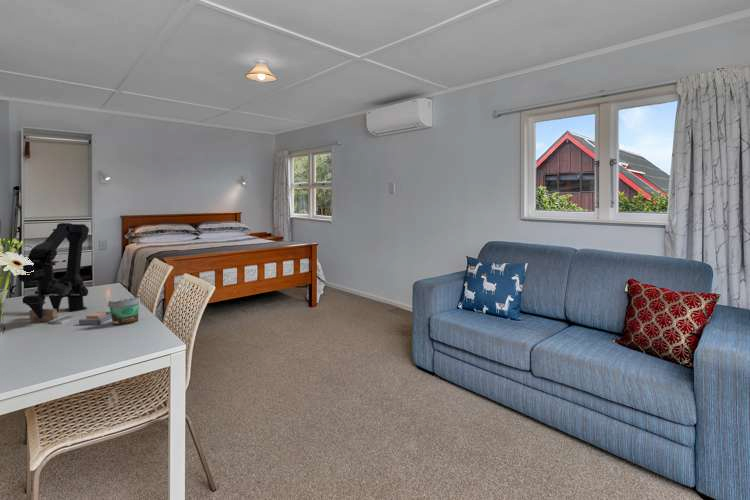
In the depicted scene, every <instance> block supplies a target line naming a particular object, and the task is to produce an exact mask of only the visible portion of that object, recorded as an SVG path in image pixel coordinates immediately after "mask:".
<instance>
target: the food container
mask: <svg viewBox="0 0 750 500" xmlns="http://www.w3.org/2000/svg"><path fill="white" fill-rule="evenodd" d="M140 303H141V298H140V296H139V295H136V297H134V298H133V297H132V298H125V299H120V300H118V301H110V300H109V301H108V302H107V307H109V310H110V311H109V312H111V316H112V319H111V320H112V325H113V326H127V325H132V324H135V322H136V323H137V322H139V311H140V310H139V309H140V308H139V307H140Z"/></svg>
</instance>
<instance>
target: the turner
mask: <svg viewBox="0 0 750 500" xmlns="http://www.w3.org/2000/svg"><path fill="white" fill-rule="evenodd" d="M73 319H75V316H74V315H61V316H59V317H58V312H57V309H53V308H43V317H42V318H38V316H37V315H36V314H35V312H34V311H33V310H32V309H29V321H30V322H29V323H48V325H62V324H65V323H67V322H69V321H71V320H73Z"/></svg>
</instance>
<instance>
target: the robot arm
mask: <svg viewBox="0 0 750 500" xmlns="http://www.w3.org/2000/svg"><path fill="white" fill-rule="evenodd" d="M89 232H90V229H89V227H88V226H87V225H86V224H85V223H78V224H77V223H70V222H60V223H57V225H56V228H55V229H54V230H53V231H52V233H51V234H50V235H49V236H47V238H46V239H45V240H44V241H43V242H42V243H39V244H36V245H35V246H34V247H33V248H32V249H31V250H30V252H29V254H28V256H27V259H28V258H29V259H30V260H31V261H32V262H33V263H34V265H33V266H32V265H25V264H24V265H23V266H22V269H23V270H24V271H26V272H31V271H33V270H34V272H31V273H32V274H31V273H26V274H30V275H17V277H18V279H19V280H20V281H21V282H22V283H25V284H28V283H32V282H33V285H36V290H35V291H34V293H33V294H32V293H30V294H28V295H25V296H23V297H22V304H25V306H26V305H27V306H28V307H29V308H30V310H33V311H34V312H35V314H36V315H37V316H38V318H42V317H43V309H44V305H45V303H46V298H48V299H49V301H50V304H51V306H52V309H57V313H58V312H59V309H60V307H61V306H60V305H61V303H62V300H63V299H64V298H67V304H68V307H66V308H65V310H66V311H68V312H77V311H81V310H82V311H83V310H87V309H88V307H87V306H85V304H84V297H87V296H88V295H89V289H88V288H87V286H85V284H84V280H83V278H82V276H81V274H80V273H81V264H82V263H81V261H82V253H83V252H82V251H83V244H84V243H85V241H87V239H88V236H89V234H90V233H89ZM65 239H66V240H67V241H68V243H69V244H68V251H67V252H68V254H67V262H66V270H65V271H66V273H65V275H64V276H63V277H60V279H59V281H58V279H57V278H55V277H54V266H56V264H57V263H56V262H54V259H55V258H56V256H57V254H58V251H57V249H58V247H59V246H60V245H61V244H62V243H63V242H64V240H65ZM29 259H28V260H29Z"/></svg>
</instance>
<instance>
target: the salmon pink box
mask: <svg viewBox="0 0 750 500" xmlns="http://www.w3.org/2000/svg"><path fill="white" fill-rule="evenodd" d="M99 312H100V311H95V312H92V313H90V314H86V316H85V319H100V318H102V317H104V316H106V313H99Z"/></svg>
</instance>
